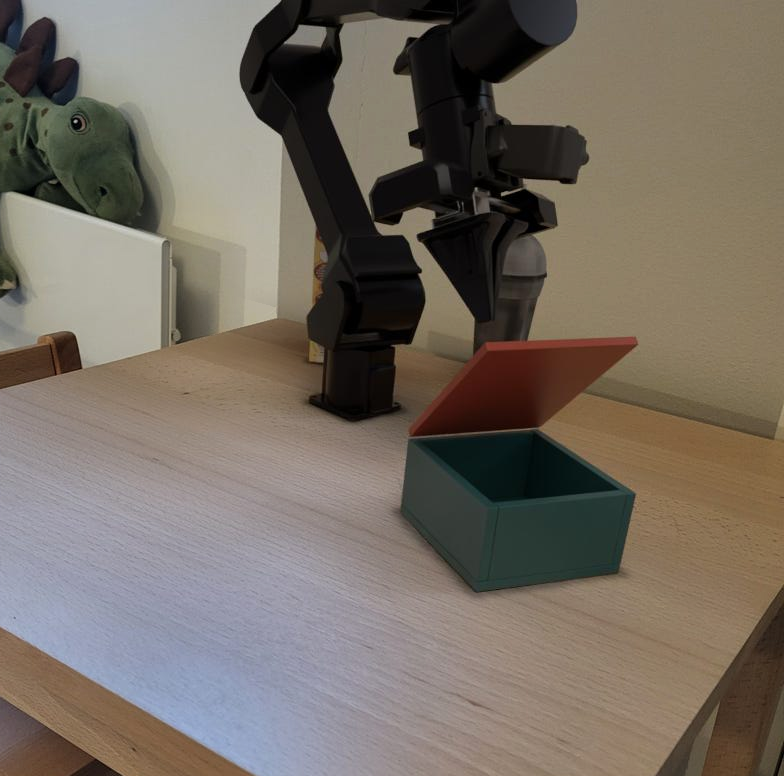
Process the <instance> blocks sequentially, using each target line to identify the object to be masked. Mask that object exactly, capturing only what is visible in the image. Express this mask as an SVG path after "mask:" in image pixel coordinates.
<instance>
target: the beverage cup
mask: <svg viewBox="0 0 784 776" xmlns="http://www.w3.org/2000/svg"><path fill="white" fill-rule="evenodd" d="M523 184H524V187H523V188H520V190H522V189H527V188H528V184H527V183H523ZM527 190H528V189H527ZM547 277H548V271H547V256H546V252H545V250H544V247H543V246H542V244H541V242H540V241H539V239H537V238H536V236H534V234H533V235H530V236H526V237H523V238H519V239H516V240H514V241H513V242H512V244H511V245H510V246H509V248H508V250H507V253H506V258H505V262H504V267H503V273H502V280H501V287H500V293H499V300H498V307H497V313H496V319H495V321H494V322H491V323H487V324H479V323H477V321H476V320H475V319H474V323H473V324H474V325H473V344H472V345H473V346H472V348H473V349H472V357H473V356H474V355H475V353H476V352H477V351H478V350H479V349H480V348H481V347H482V345H483V344H484V343H485V342H508V341H529V335H530V331H531V327H532V324H533V320H534V316H535V311H536V307H537V303H538V299H539V297H540V296H541V293H542V290H543V287H544V285H545V284H544V283H545V279H546V278H547Z"/></svg>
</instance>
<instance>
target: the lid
mask: <svg viewBox="0 0 784 776" xmlns="http://www.w3.org/2000/svg"><path fill="white" fill-rule="evenodd" d="M638 346H639V342H638V339H637V336H615V337H614V336H613V337H589V338H564V339H563V338H561V339H540V340H538V339H536V340H535V339H534V340H527V341H508V342H485V343H484V344H483V345H482V347H481V348H480V349H479V350H478V351H477V352H476V353H475V355H474V356H473V355H472V356H471V358H470V359H469V360H468V361H467V362H466V363H465V364H464V366H463V367H462V368H461V369H460V370H459V371H458V373H457V374H455V376H454V377H453V378H452V379H451V380H450V381H449V383H448V384H447V385H446V386H445V387H444V388H443V389H442V391H441V392H440V393H439V394H438V395H437V396H436V397H435V399H433V401H432V402H431V403H430V404H429V405H428V406H427V407H426V408H425V410H424V411H423V412H422V413H421V414H420V416H418V418H417V419H416V420H415V421H414V422H413V423H412V424H411V426H409V428H408V429H407V432H408V436H409V438H419V437H433V436H446V435H460V434H474V433H487V432H501V431H514V430H528V429H539V428H541V427H542V426H543V425H545V424H546V423H547V422H548V421H550V419H552V418H553V417H554V416H556V414H558V413H559V412H560V411H561V410H563V409H564V408H565V407H566V406H567V405H568V404H569V403H571V402H572V401H573V400H574V399H576V398H577V397H578V396H579V395H581V393H583V392H584V391H585V390H587V388H589V387H590V386H591V385H592V384H593V383H595V382H596V381H597V380H598V379H600V378H601V377H602V376H603V375H605V373H607V372H608V371H609V370H610V369H611V368H613V367H614V366H615V365H616V364H617V363H619V362H620V361H621V360H622V359H624V357H626V356H627V355H628V354H629V353H631V352H632V351H633V350H634V349H635V348H636V347H638Z"/></svg>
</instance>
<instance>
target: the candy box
mask: <svg viewBox="0 0 784 776" xmlns="http://www.w3.org/2000/svg"><path fill="white" fill-rule="evenodd" d="M369 211H370V214H371V210H369ZM314 228H315V229H314V247H313V271H312V272H313V273H312V291H311V292H312V293H311V294H312V295H311V308H312V307H313V306H314V305H315V303H316V302H317V300H318V299H319V298H320V296H321V295H322V289H321V282H322V278H323V275H324V271H325V267H326V263H327V260H328V256H327V253H326V250H325V247H324V245H323V242H322V240H321V237H320V234H319V232H318V229H317V227H316V226H315V227H314ZM308 356H309V357H308V362H310V363H317V364H318V363H319V364H323V359H324V347H322V346H320V345H318V344H317V343H315V342H313V341H311V340H310V339H309V354H308Z"/></svg>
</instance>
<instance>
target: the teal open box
mask: <svg viewBox="0 0 784 776" xmlns="http://www.w3.org/2000/svg"><path fill="white" fill-rule="evenodd" d="M403 474H404V475H403V483H402V484H403V486H402V491H401V492H402V494H401V504H400V510H399V511H400V512H399V513H401V515H402V516H403V517H404V518H405V519H406V520H407V521H408V522H409V524H411V525H412V526H413V528H414V529H416V530H417V531H418V533H420V535H421V536H422V537H423V538H424V539H425V540H426V541H427V542H428V543H429V544H430V545H431V546H432V548H434V550H436V552H438V554H439V555H440V556H441V557H442V558H443V559H444V560H445V561H446V562H447V563H448V564H449V565H450V566H451V567H452V568H453V569H454V571H456V573H457V574H458V575H459V576H460V577H461V578H462V579H463V580H464V581H465V582H466V583H467V584H468V585H469V587H471V588H472V589H473V591H474V592H476V593H479V592H486V591H493V590H502V589H508V588H509V589H510V588H517V587H523V586H532V585H537V584H545V583H546V584H547V583H552V582H553V583H554V582H561V581H569V580H576V579H583V578H591V577H597V576H607V575H613V574H618V573H619V572H620V567H621V563H622V560H623V554H624V552H625V551H624V550H625V545H626V541H627V536H628V533H629V528H630V524H631V519H632V515H633V509H634V506H635V502H636V497H637V493H636V492H635V491H634V490H632V489H630V488H629V487H628V486H625V484H623V483H621V482H620V481H619V480H617V479H615V478H614V477H612V476H611V475H609V474H607V473H606V472H604V471H603V470H602V469H600V468H599V467H597V466H595V465H594V464H592V463H590V462H589V461H587V460H586V459H585V458H583V457H582V456H580V455H579V454H577V453H575V452H574V451H572V450H571V449H569V448H568V447H566V446H565V445H564V444H562V443H560V442H559V441H558V440H555V439H554V438H552V437H551V436H549V435H548V434H546V433H545V432H543V431H542V430H540V429H539V428H530V429H519V430H505V431H492V432H478V433H465V434H451V435H438V436H424V437H411V438H408V439H407V446H406V455H405V466H404V473H403Z"/></svg>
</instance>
